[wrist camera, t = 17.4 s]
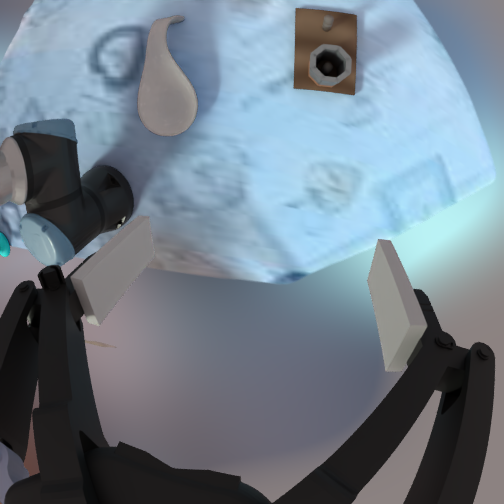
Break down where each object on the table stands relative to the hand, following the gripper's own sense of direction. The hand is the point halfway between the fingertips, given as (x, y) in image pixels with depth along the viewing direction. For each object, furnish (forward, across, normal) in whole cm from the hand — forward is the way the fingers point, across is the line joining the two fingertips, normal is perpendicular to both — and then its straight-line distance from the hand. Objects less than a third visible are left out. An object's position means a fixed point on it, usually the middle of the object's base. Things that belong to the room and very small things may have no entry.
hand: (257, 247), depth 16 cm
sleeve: (+35, +5, +14) cm, 38 cm away
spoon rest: (+37, -22, +13) cm, 45 cm away
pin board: (+37, +5, +18) cm, 41 cm away
